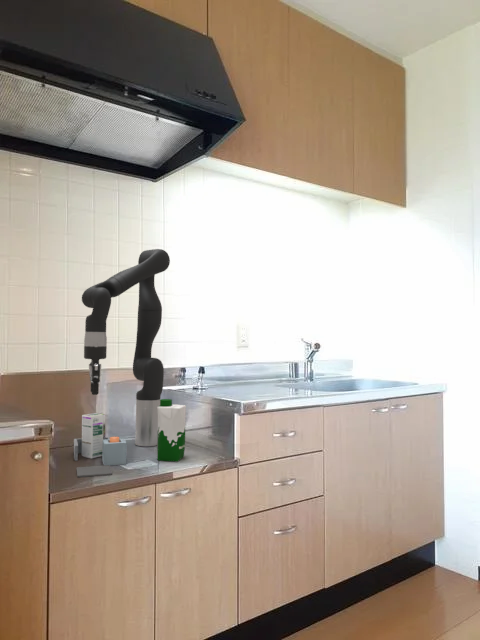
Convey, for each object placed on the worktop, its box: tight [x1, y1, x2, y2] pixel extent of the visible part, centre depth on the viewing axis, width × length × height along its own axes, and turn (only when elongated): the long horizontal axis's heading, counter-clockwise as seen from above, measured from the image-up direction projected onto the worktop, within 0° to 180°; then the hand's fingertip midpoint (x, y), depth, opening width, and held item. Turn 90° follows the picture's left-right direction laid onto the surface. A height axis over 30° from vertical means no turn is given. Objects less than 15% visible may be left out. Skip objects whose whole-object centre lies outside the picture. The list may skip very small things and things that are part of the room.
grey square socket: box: [101, 438, 128, 466], centre depth 172 cm, size 7×7×7 cm
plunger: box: [109, 436, 120, 443], centre depth 172 cm, size 3×3×6 cm
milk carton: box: [156, 398, 187, 463], centre depth 178 cm, size 9×9×20 cm
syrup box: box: [81, 412, 106, 460], centre depth 180 cm, size 6×6×14 cm
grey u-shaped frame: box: [73, 436, 111, 462], centre depth 181 cm, size 12×12×5 cm
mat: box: [76, 464, 113, 478], centre depth 160 cm, size 10×10×1 cm
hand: (94, 393), depth 181 cm, fingers open, 6 cm apart
